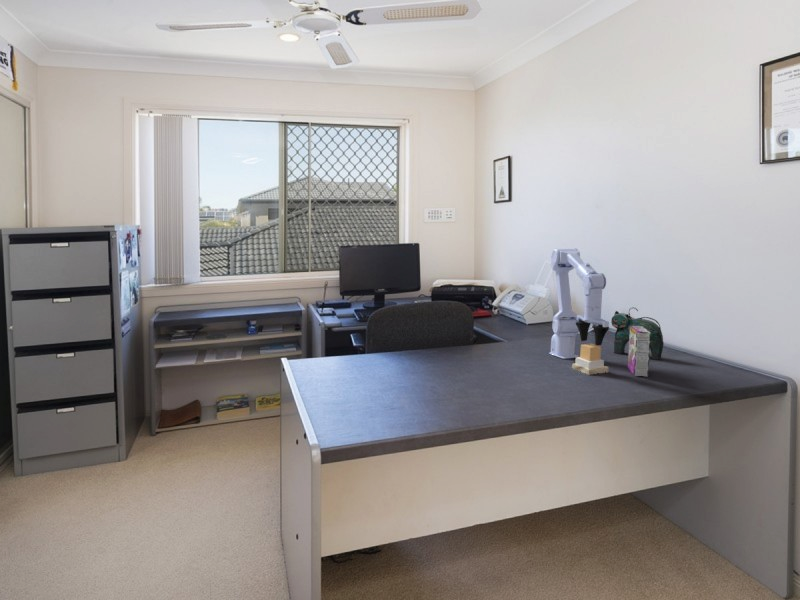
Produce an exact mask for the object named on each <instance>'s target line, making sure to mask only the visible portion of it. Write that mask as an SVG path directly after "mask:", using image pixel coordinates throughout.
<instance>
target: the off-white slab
mask: <svg viewBox="0 0 800 600" xmlns="http://www.w3.org/2000/svg"><path fill="white" fill-rule="evenodd" d="M574 362H575V364H576V365H579V366H582V367H585V368H587V369H592V368H599V367H604V366H605V365H604V364H605V360H604V359H601V358H600V360H595V361H588V360H585V359H582V358H580V356H579V357H576V358H575V361H574Z"/></svg>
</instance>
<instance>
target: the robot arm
mask: <svg viewBox="0 0 800 600" xmlns="http://www.w3.org/2000/svg"><path fill="white" fill-rule="evenodd" d="M550 259H551V268H552V271H554V272H555V282H556V291H557V292H556V293H557V303H558V305H557V306H558V312H556V313H555V314H554V316H552V324H551V325H552V326H551V327H552V331H553V333H554V334H552V336H551V340H550V352H548V354H549V355H551V356H555V357H558V358H560V359H563V360H565V359H566V360H567V359H574V358H575V359H576V358H577V357H580V355H577V354H575V345H576V336H578V334H579V336H580V340H581V342H586V341H587V340H588V337H589V336H588V335H589V329H590V326H591V324H592V325H593V326H592V329H593V330H594V343H595V344H594V345H597V346H601V345H602V344H603V341H604V338H605V336H606V334H607V332H608V331H609V329H610V322H609V320H605V319H603V318H602V317H601V316H602V302H603V290H604V289H605V288H606V286H607V278H606V275H605V274H604V273H598V272H597V271H596V270H595V269H594V268H593V267H592V266H591V264H590V263H588V262H584V261H583V259H582V258H581V252H580V251H579V250H578V248H554V249H553V250H552V252H551V255H550ZM574 269H575V272H576V275H577V276H578V277H579V278H580V280H581V281H582V286H583V293H584V294H585V295H584V296H585V297H584V298H585V299H584V312H583V313H584V314H583V315H582V314H577V313H576V312H574V311H573V310H572V308H573V307H572V298H571V288H570V278H569V273H570V271H573V270H574ZM594 325H596V326H594Z"/></svg>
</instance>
